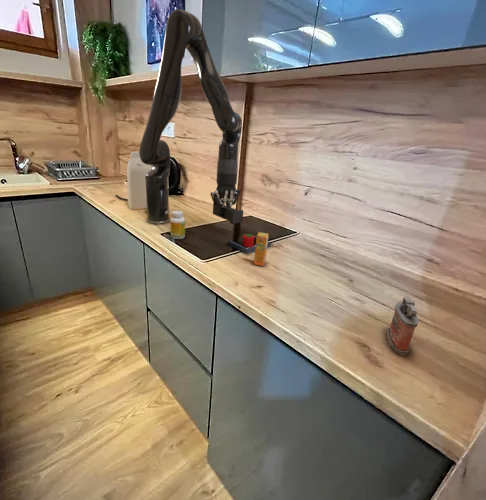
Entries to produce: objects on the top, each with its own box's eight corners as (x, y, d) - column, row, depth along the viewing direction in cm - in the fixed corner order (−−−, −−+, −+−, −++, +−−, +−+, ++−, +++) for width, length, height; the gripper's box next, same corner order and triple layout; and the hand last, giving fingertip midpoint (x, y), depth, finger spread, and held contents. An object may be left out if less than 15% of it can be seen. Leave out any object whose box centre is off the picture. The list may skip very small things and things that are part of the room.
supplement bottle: (182, 240, 112) (182, 214, 109) (168, 238, 113) (168, 213, 110) (186, 235, 117) (186, 210, 113) (173, 233, 118) (173, 209, 114)
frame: (227, 244, 110) (228, 240, 110) (251, 238, 117) (251, 234, 117) (246, 253, 103) (247, 249, 103) (270, 246, 110) (271, 242, 110)
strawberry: (240, 244, 111) (241, 234, 109) (248, 242, 113) (248, 232, 112) (248, 248, 108) (248, 237, 107) (255, 245, 110) (256, 235, 109)
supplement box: (253, 264, 95) (255, 234, 91) (255, 260, 98) (258, 231, 94) (263, 266, 94) (266, 236, 90) (265, 262, 97) (269, 233, 93)
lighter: (384, 328, 68) (396, 290, 64) (401, 332, 67) (414, 293, 63) (392, 352, 61) (405, 311, 57) (410, 356, 60) (426, 314, 56)
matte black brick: (210, 214, 121) (210, 203, 119) (219, 212, 124) (220, 202, 122) (232, 224, 111) (233, 212, 110) (242, 222, 114) (243, 210, 113)
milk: (151, 201, 161) (148, 150, 151) (156, 207, 151) (153, 153, 141) (127, 203, 156) (123, 150, 146) (131, 209, 147) (127, 153, 136)
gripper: (234, 168, 118) (231, 211, 125) (205, 170, 109) (204, 216, 116) (247, 171, 113) (244, 216, 120) (218, 174, 104) (216, 221, 111)
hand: (224, 216), depth 118 cm, fingers closed on matte black brick, 2 cm apart
